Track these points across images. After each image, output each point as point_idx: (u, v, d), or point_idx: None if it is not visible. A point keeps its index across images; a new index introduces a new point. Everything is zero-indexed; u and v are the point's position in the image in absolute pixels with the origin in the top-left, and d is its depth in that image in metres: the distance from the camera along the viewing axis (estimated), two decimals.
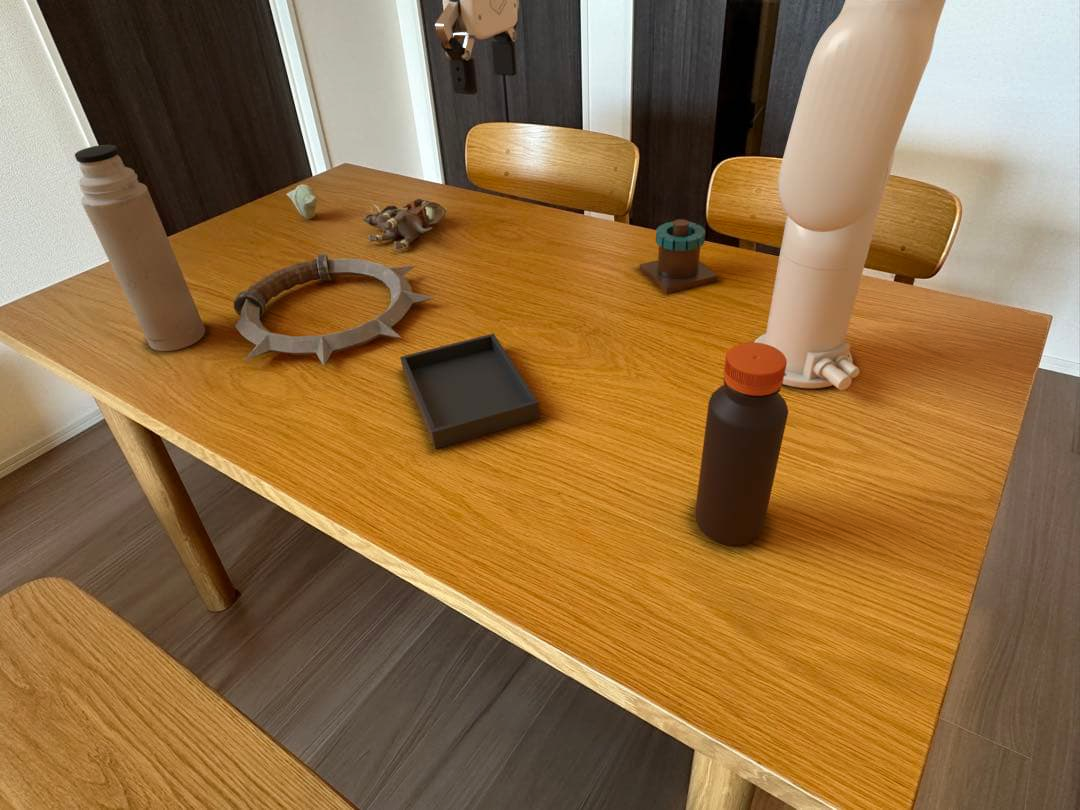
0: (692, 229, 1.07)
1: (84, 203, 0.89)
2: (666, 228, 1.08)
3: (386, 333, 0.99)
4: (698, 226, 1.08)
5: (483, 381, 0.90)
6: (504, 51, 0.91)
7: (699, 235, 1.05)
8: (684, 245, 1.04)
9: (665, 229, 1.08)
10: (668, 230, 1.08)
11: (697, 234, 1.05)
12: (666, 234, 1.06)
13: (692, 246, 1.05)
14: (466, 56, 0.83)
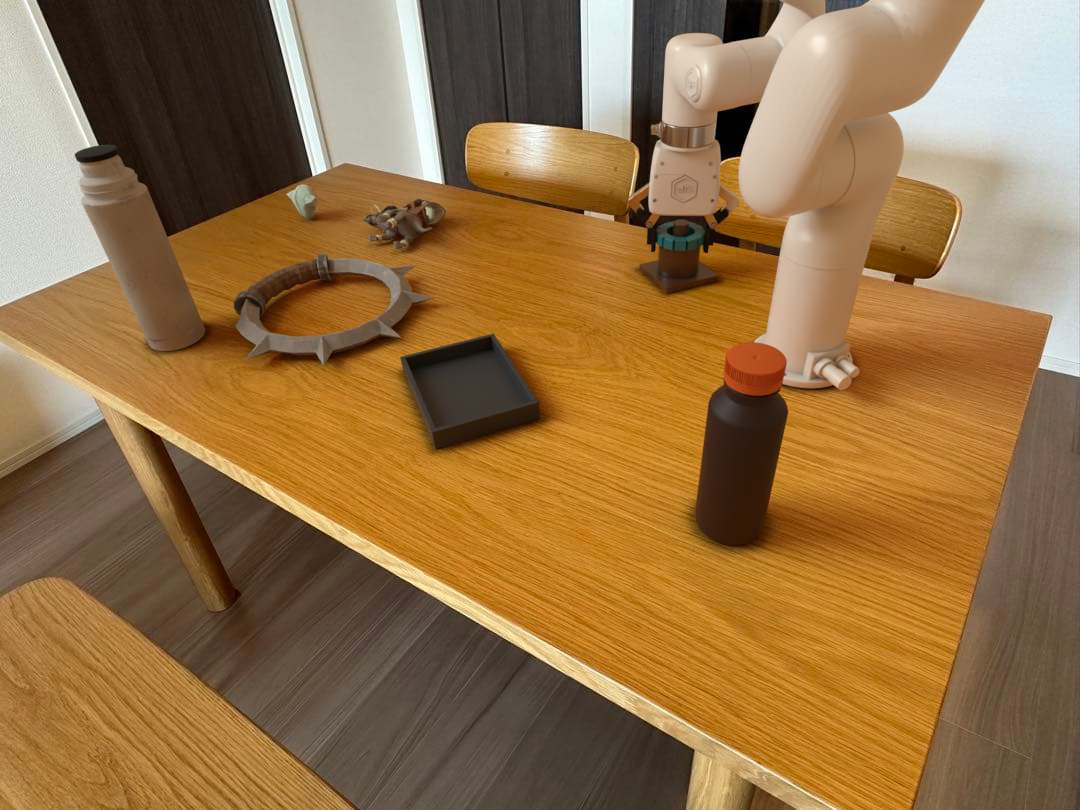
0: (692, 229, 1.07)
1: (83, 203, 0.89)
2: (666, 228, 1.08)
3: (386, 333, 0.99)
4: (698, 226, 1.08)
5: (483, 381, 0.90)
6: None
7: (699, 235, 1.05)
8: (684, 245, 1.04)
9: (665, 229, 1.08)
10: (668, 230, 1.08)
11: (697, 234, 1.05)
12: (666, 234, 1.06)
13: (692, 246, 1.05)
14: (648, 225, 1.06)
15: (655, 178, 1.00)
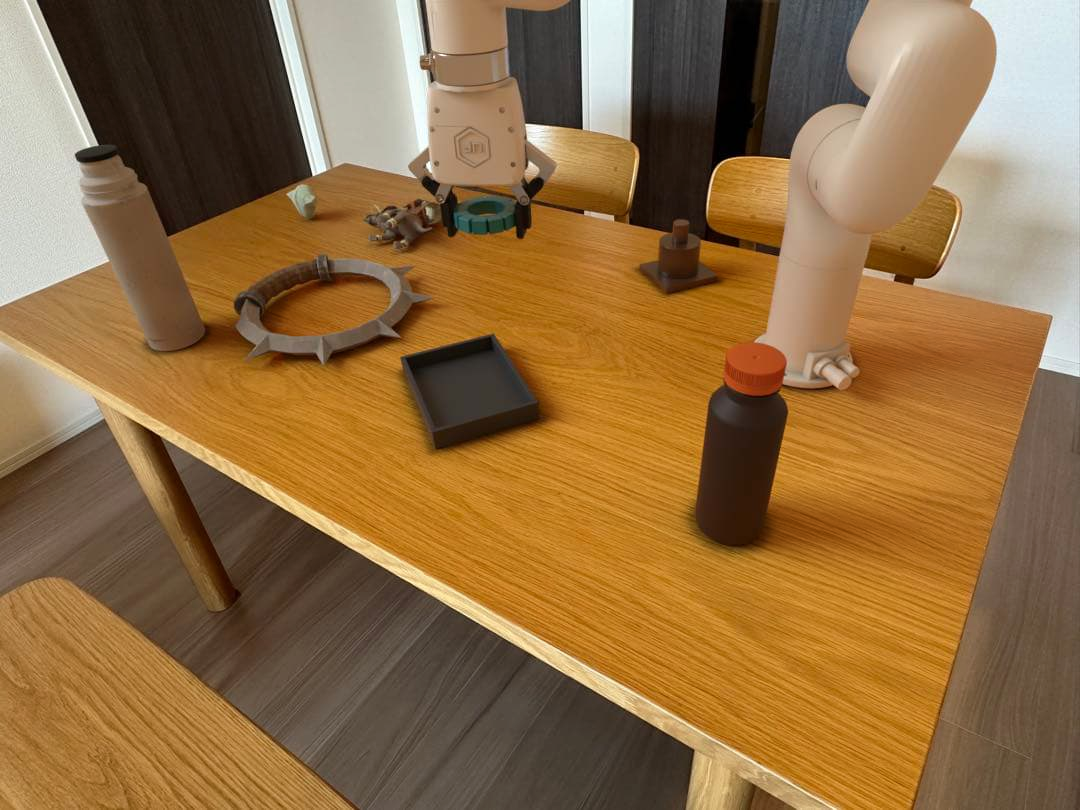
0: (503, 206, 0.79)
1: (83, 203, 0.89)
2: (469, 204, 0.79)
3: (386, 333, 0.99)
4: (512, 202, 0.79)
5: (483, 381, 0.90)
6: None
7: (507, 213, 0.77)
8: (484, 227, 0.76)
9: (467, 205, 0.79)
10: (472, 207, 0.80)
11: (505, 212, 0.77)
12: (464, 212, 0.78)
13: (496, 229, 0.76)
14: (439, 199, 0.77)
15: (432, 132, 0.71)
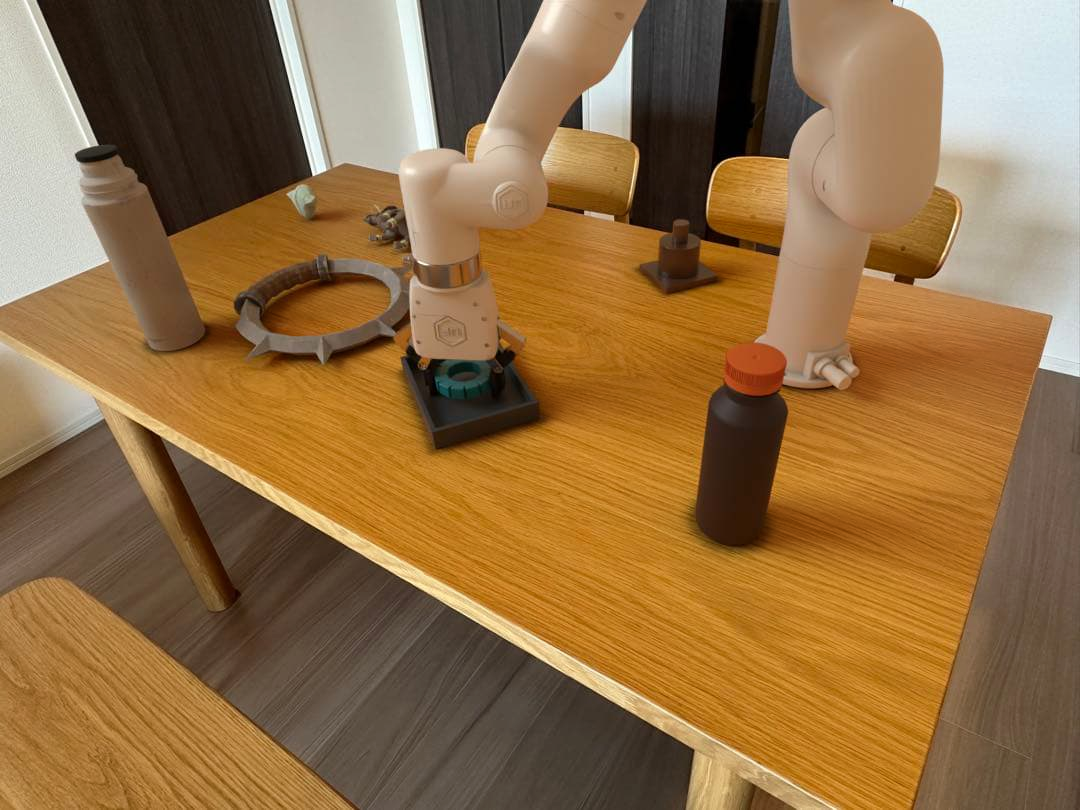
0: (480, 368, 0.88)
1: (83, 203, 0.89)
2: (449, 366, 0.88)
3: (386, 333, 0.99)
4: (488, 364, 0.88)
5: None
6: None
7: (483, 379, 0.86)
8: (462, 393, 0.85)
9: (447, 368, 0.88)
10: (452, 368, 0.88)
11: (480, 378, 0.86)
12: (444, 376, 0.86)
13: (473, 394, 0.85)
14: (422, 366, 0.86)
15: (414, 318, 0.80)
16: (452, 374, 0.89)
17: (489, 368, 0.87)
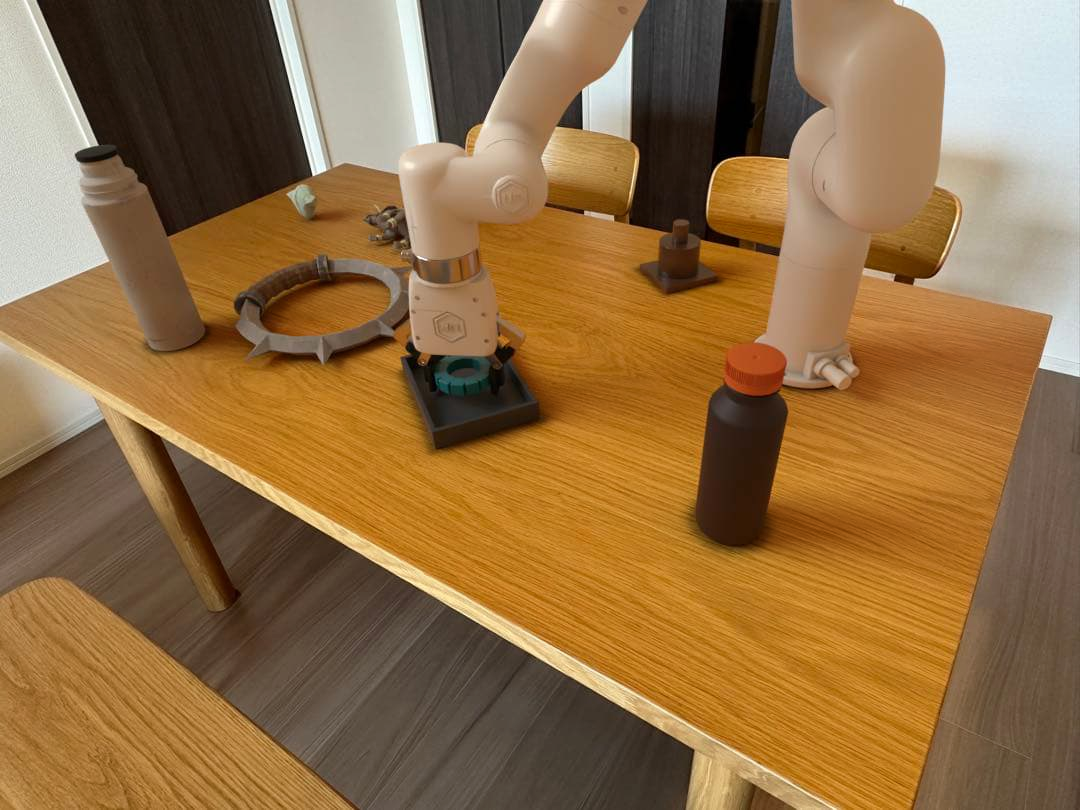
0: (479, 364, 0.87)
1: (83, 203, 0.89)
2: (448, 363, 0.88)
3: (386, 333, 0.99)
4: (487, 360, 0.88)
5: None
6: None
7: (482, 375, 0.85)
8: (461, 389, 0.84)
9: (446, 364, 0.87)
10: (451, 365, 0.88)
11: (480, 374, 0.85)
12: (444, 373, 0.86)
13: (472, 390, 0.85)
14: (421, 363, 0.86)
15: (413, 314, 0.80)
16: (452, 370, 0.89)
17: (489, 364, 0.87)
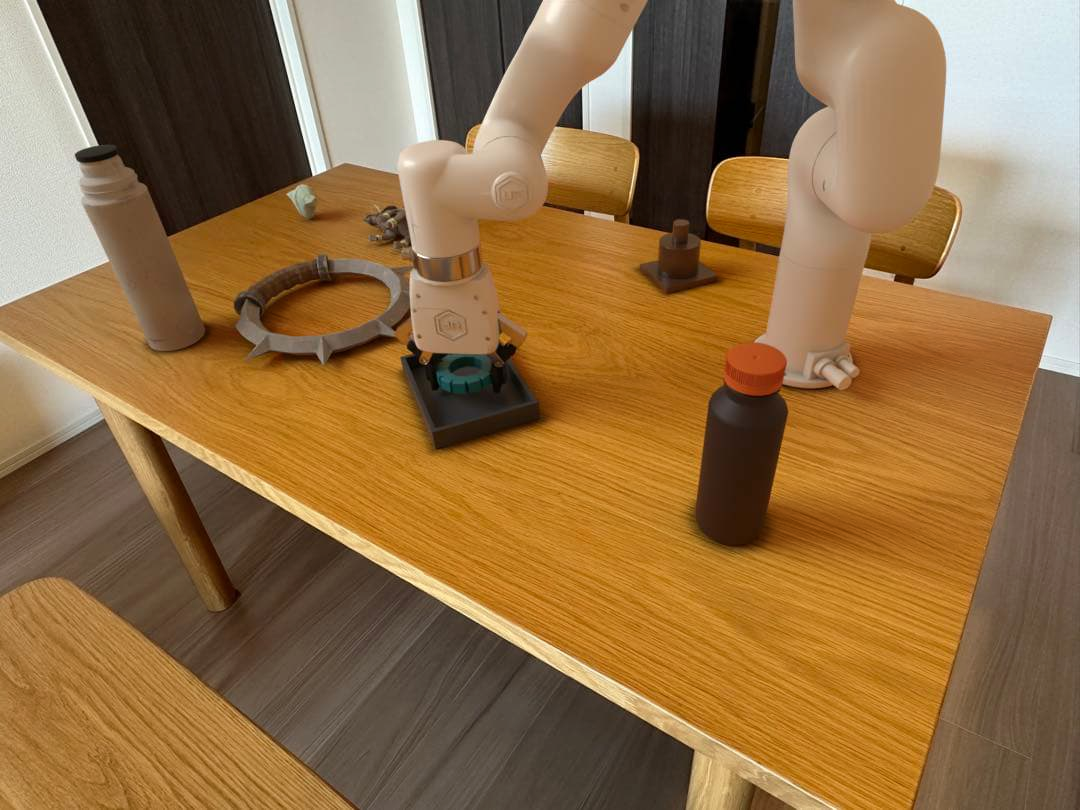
0: (481, 363, 0.87)
1: (83, 203, 0.89)
2: (450, 361, 0.88)
3: (386, 333, 0.99)
4: (489, 359, 0.88)
5: None
6: None
7: (484, 374, 0.85)
8: (463, 388, 0.84)
9: (448, 363, 0.87)
10: (453, 363, 0.88)
11: (482, 372, 0.85)
12: (446, 371, 0.86)
13: (474, 388, 0.85)
14: (423, 361, 0.86)
15: (414, 312, 0.80)
16: (453, 369, 0.88)
17: (491, 362, 0.87)
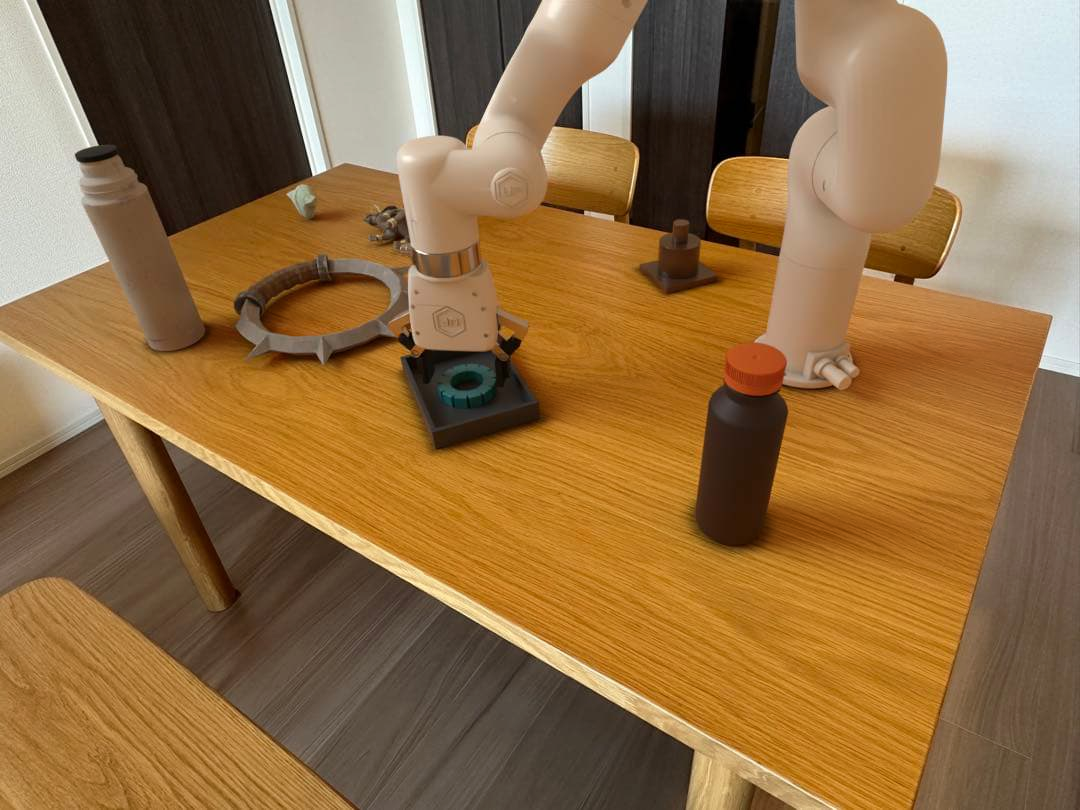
0: (482, 377, 0.89)
1: (83, 203, 0.89)
2: (452, 375, 0.89)
3: (386, 333, 0.99)
4: (490, 373, 0.89)
5: None
6: None
7: (485, 388, 0.86)
8: (465, 402, 0.85)
9: (450, 377, 0.89)
10: (455, 377, 0.89)
11: (483, 387, 0.87)
12: (447, 386, 0.87)
13: (475, 403, 0.86)
14: (414, 354, 0.85)
15: (413, 309, 0.79)
16: (455, 383, 0.90)
17: (492, 377, 0.88)
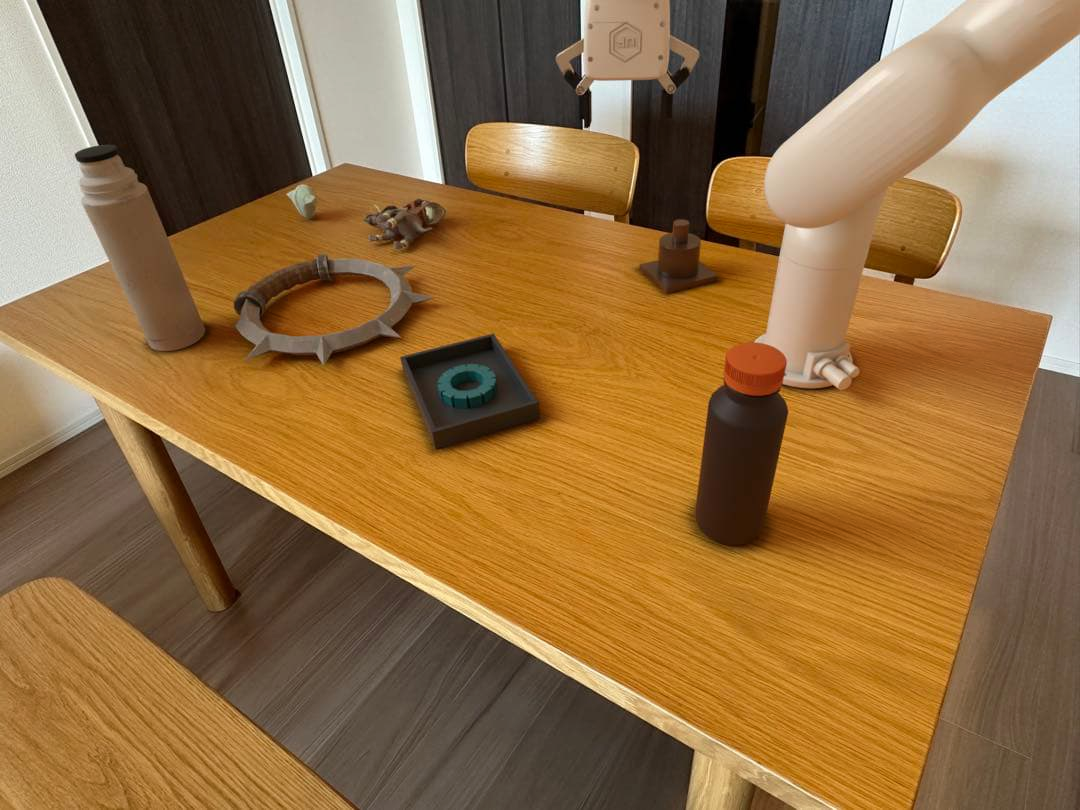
0: (482, 377, 0.89)
1: (83, 203, 0.89)
2: (452, 375, 0.89)
3: (386, 333, 0.99)
4: (490, 373, 0.89)
5: None
6: None
7: (485, 388, 0.86)
8: (465, 402, 0.85)
9: (450, 377, 0.89)
10: (455, 377, 0.89)
11: (483, 387, 0.87)
12: (447, 386, 0.87)
13: (475, 403, 0.86)
14: (579, 91, 0.86)
15: (589, 29, 0.81)
16: (455, 383, 0.90)
17: (492, 377, 0.88)
